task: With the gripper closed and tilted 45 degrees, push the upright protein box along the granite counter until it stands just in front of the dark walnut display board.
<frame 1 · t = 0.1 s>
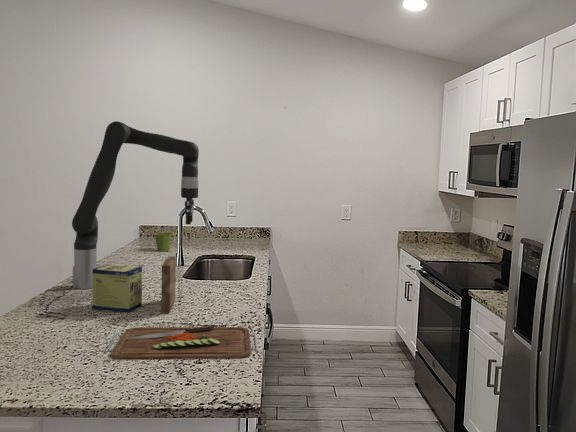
hand: (189, 223, 233), 29 cm above the worktop, tool pointing down, fingers open, 8 cm apart
plant pot: (163, 251, 333), on the worktop
protein box: (117, 308, 199), on the worktop
chopping board: (184, 345, 162), on the worktop
display board: (168, 306, 203), on the worktop
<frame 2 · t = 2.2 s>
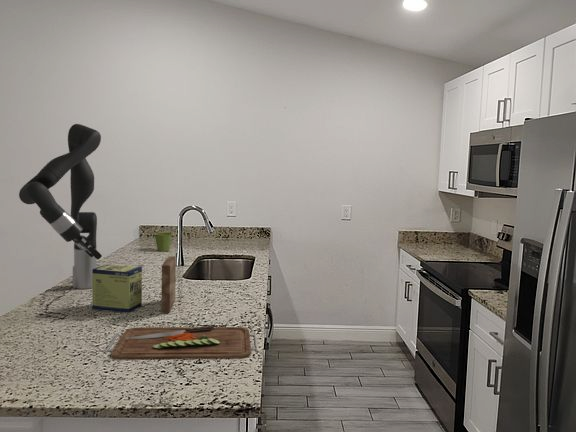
hand: (96, 256, 198), 19 cm above the worktop, tool tilted 40°, fingers open, 8 cm apart
nothing on the worktop moved.
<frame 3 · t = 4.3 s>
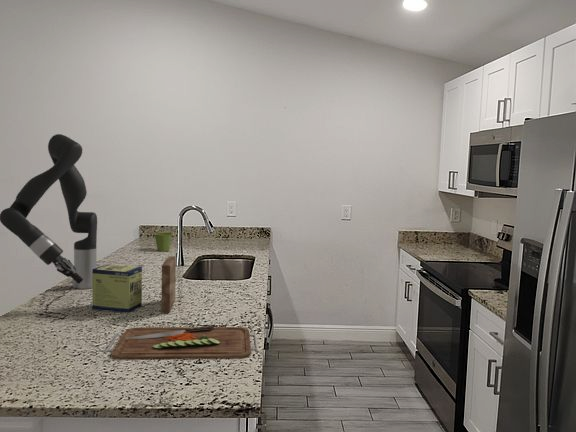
hand: (81, 281, 196), 10 cm above the worktop, tool tilted 45°, fingers closed
nothing on the worktop moved.
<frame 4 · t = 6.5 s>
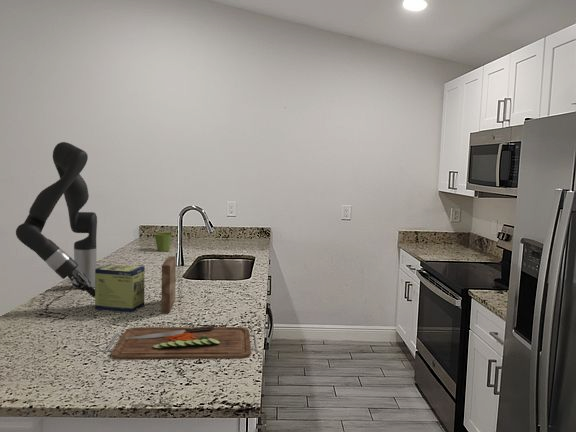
hand: (96, 295, 198), 5 cm above the worktop, tool tilted 45°, fingers closed
protein box: (120, 307, 199), on the worktop, touching gripper
everything else where it was.
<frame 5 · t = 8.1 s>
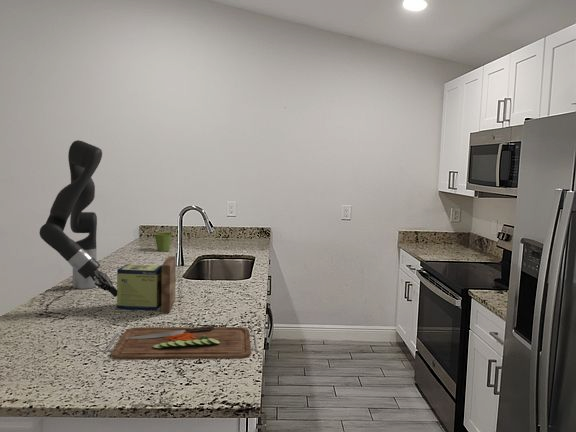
hand: (117, 294, 199), 5 cm above the worktop, tool tilted 45°, fingers closed
protein box: (140, 307, 201), on the worktop, touching gripper
everything else where it was.
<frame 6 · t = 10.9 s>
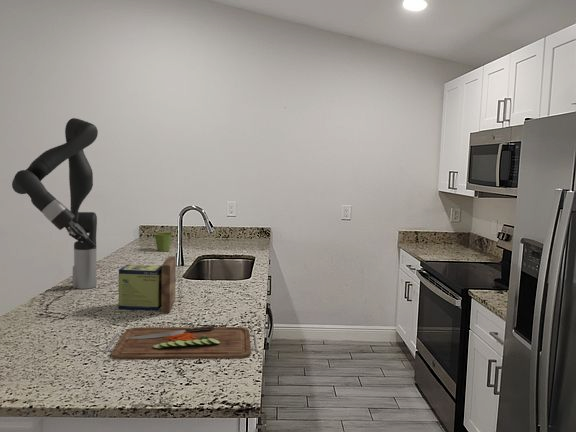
hand: (93, 247, 196), 23 cm above the worktop, tool tilted 45°, fingers closed
protein box: (142, 307, 201), on the worktop
everything else where it was.
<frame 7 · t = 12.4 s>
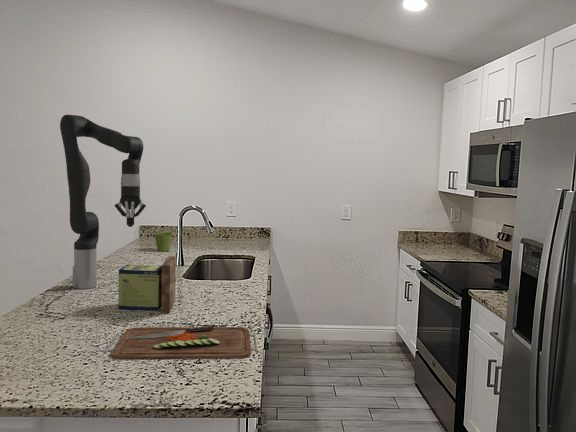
hand: (130, 226, 216), 29 cm above the worktop, tool pointing down, fingers closed
nothing on the worktop moved.
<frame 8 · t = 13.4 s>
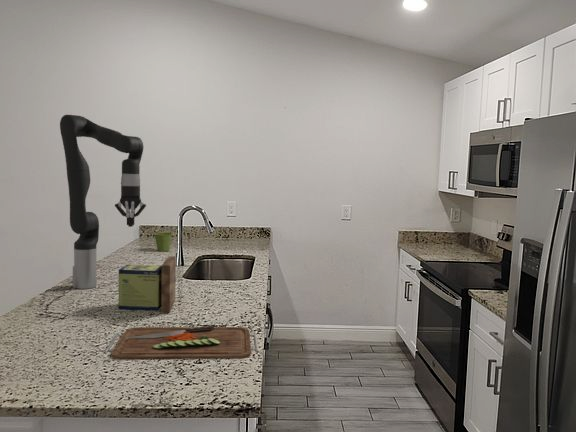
hand: (130, 226, 216), 29 cm above the worktop, tool pointing down, fingers closed
nothing on the worktop moved.
at the end: protein box inside the target area (1.1 cm from its centre), on the worktop; protein box tilted 0°; protein box moved 9.1 cm from its start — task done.
